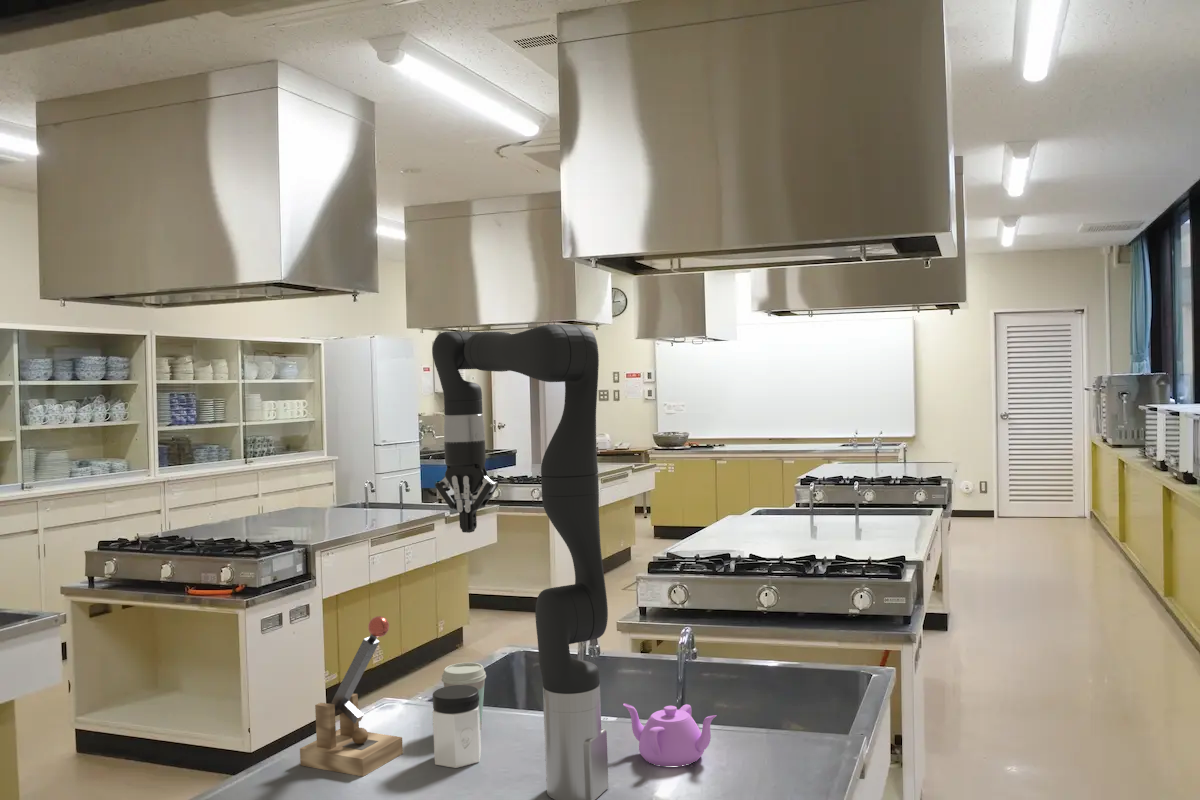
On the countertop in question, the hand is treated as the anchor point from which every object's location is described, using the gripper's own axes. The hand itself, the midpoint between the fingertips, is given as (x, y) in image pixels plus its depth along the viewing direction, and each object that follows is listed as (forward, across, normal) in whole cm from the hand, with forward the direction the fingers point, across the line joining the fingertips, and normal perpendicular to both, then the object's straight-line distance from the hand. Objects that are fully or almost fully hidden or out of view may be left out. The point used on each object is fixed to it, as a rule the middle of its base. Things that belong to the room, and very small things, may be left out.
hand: (468, 531), depth 183 cm
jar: (+39, -2, +9) cm, 40 cm away
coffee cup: (+39, +5, -4) cm, 40 cm away
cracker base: (+39, +16, +16) cm, 45 cm away
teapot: (+39, -37, -5) cm, 54 cm away
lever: (+32, +18, +16) cm, 40 cm away
